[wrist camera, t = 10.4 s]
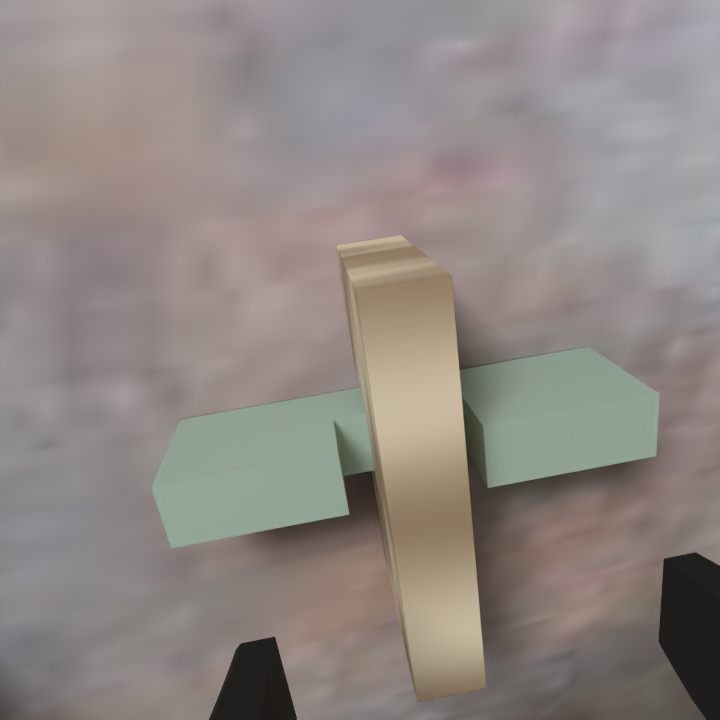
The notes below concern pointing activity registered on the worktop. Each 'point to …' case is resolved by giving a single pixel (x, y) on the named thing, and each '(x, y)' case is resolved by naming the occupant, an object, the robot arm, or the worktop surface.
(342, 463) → the notched rail
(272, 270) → the worktop surface
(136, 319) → the worktop surface
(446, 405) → the birch board
